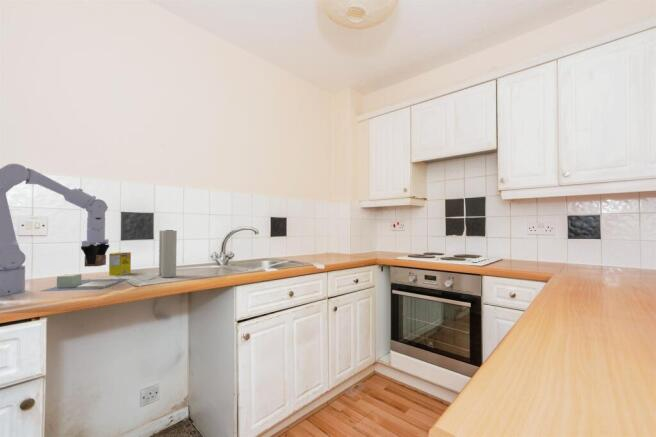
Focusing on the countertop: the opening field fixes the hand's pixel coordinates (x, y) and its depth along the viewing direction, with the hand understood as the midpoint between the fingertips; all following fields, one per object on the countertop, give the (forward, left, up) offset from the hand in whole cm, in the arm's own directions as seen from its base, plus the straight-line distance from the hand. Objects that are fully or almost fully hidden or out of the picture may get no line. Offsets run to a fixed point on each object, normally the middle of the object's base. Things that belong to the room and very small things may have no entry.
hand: (95, 263), depth 119 cm
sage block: (-8, +5, -7) cm, 11 cm away
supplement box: (+18, 0, -9) cm, 20 cm away
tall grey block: (+14, -22, -9) cm, 28 cm away
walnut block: (0, 0, -1) cm, 1 cm away
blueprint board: (-5, -1, -8) cm, 10 cm away
